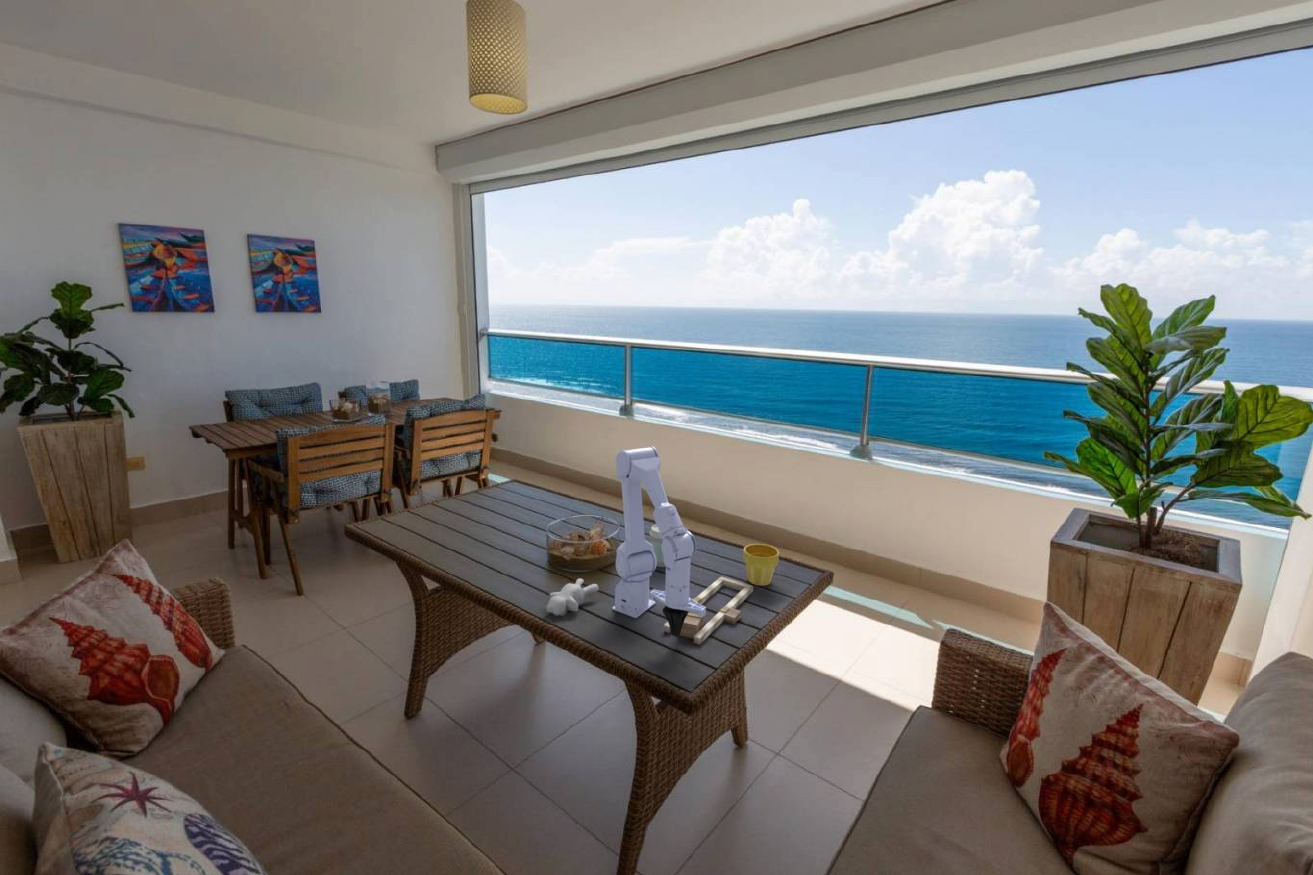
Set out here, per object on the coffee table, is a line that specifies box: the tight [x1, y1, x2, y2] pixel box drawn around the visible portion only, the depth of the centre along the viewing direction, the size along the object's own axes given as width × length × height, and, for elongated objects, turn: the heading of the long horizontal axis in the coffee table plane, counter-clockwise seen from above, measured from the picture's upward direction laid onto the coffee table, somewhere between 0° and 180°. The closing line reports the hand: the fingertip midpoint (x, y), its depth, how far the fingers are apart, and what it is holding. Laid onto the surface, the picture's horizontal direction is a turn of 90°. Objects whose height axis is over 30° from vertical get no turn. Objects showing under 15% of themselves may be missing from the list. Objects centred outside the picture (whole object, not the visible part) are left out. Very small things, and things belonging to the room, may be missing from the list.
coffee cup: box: [649, 523, 666, 568], centre depth 175 cm, size 8×8×12 cm
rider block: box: [678, 612, 707, 640], centre depth 140 cm, size 8×5×4 cm, turn 160°
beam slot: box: [663, 576, 754, 645], centre depth 148 cm, size 32×13×2 cm, turn 147°
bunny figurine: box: [545, 578, 600, 617], centre depth 150 cm, size 10×5×15 cm
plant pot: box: [742, 543, 780, 587], centre depth 165 cm, size 10×10×10 cm
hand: (676, 634), depth 133 cm, fingers closed
